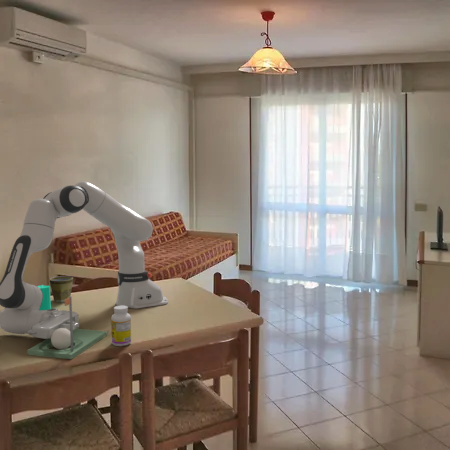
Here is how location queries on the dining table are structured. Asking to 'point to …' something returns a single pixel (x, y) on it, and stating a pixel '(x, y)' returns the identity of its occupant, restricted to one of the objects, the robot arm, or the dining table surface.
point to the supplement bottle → (121, 326)
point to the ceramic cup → (61, 287)
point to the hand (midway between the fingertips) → (76, 326)
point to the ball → (61, 338)
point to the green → (79, 341)
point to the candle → (45, 297)
